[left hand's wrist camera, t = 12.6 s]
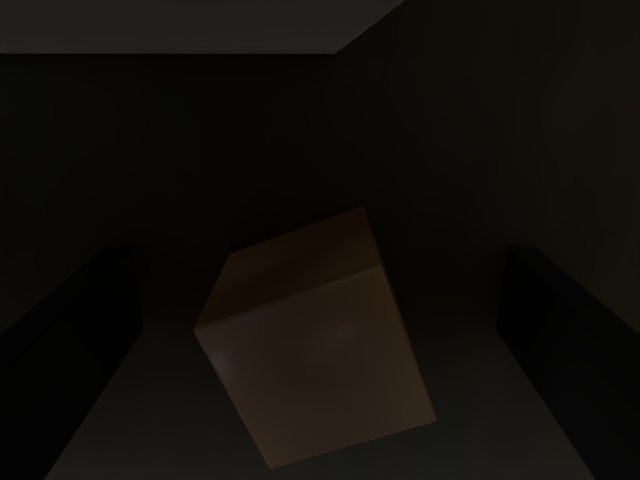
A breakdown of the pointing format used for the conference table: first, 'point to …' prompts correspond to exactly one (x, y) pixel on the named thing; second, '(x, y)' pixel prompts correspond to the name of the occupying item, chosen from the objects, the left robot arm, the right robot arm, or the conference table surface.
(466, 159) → the conference table surface
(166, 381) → the conference table surface
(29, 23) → the chest
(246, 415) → the block
